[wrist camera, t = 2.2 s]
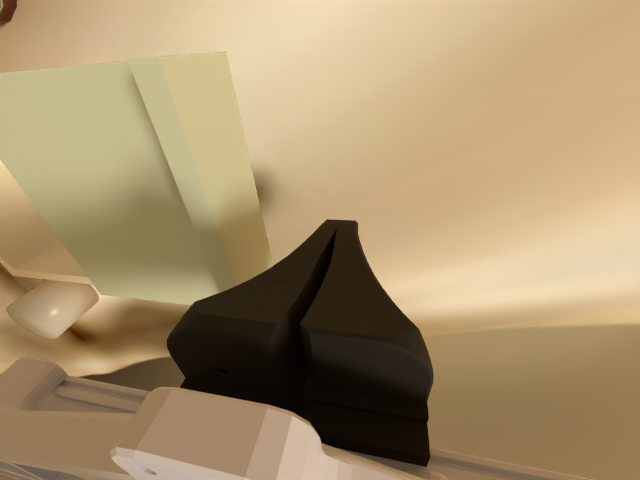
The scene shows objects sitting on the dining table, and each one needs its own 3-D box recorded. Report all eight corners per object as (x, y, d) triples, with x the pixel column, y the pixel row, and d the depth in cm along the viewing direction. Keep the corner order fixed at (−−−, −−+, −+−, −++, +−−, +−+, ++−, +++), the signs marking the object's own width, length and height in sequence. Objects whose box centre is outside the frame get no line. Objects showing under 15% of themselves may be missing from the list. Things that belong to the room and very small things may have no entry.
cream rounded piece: (106, 305, 33) (67, 341, 29) (72, 301, 34) (30, 335, 30) (82, 273, 30) (35, 308, 26) (45, 269, 31) (-5, 302, 27)
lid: (282, 306, 18) (261, 358, 15) (109, 287, 21) (63, 327, 18) (225, 52, 10) (158, 56, 7) (-40, 76, 13) (-167, 87, 10)
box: (192, 250, 24) (154, 291, 20) (67, 241, 27) (13, 275, 23) (113, 63, 16) (25, 70, 12) (-52, 78, 19) (-167, 88, 15)
